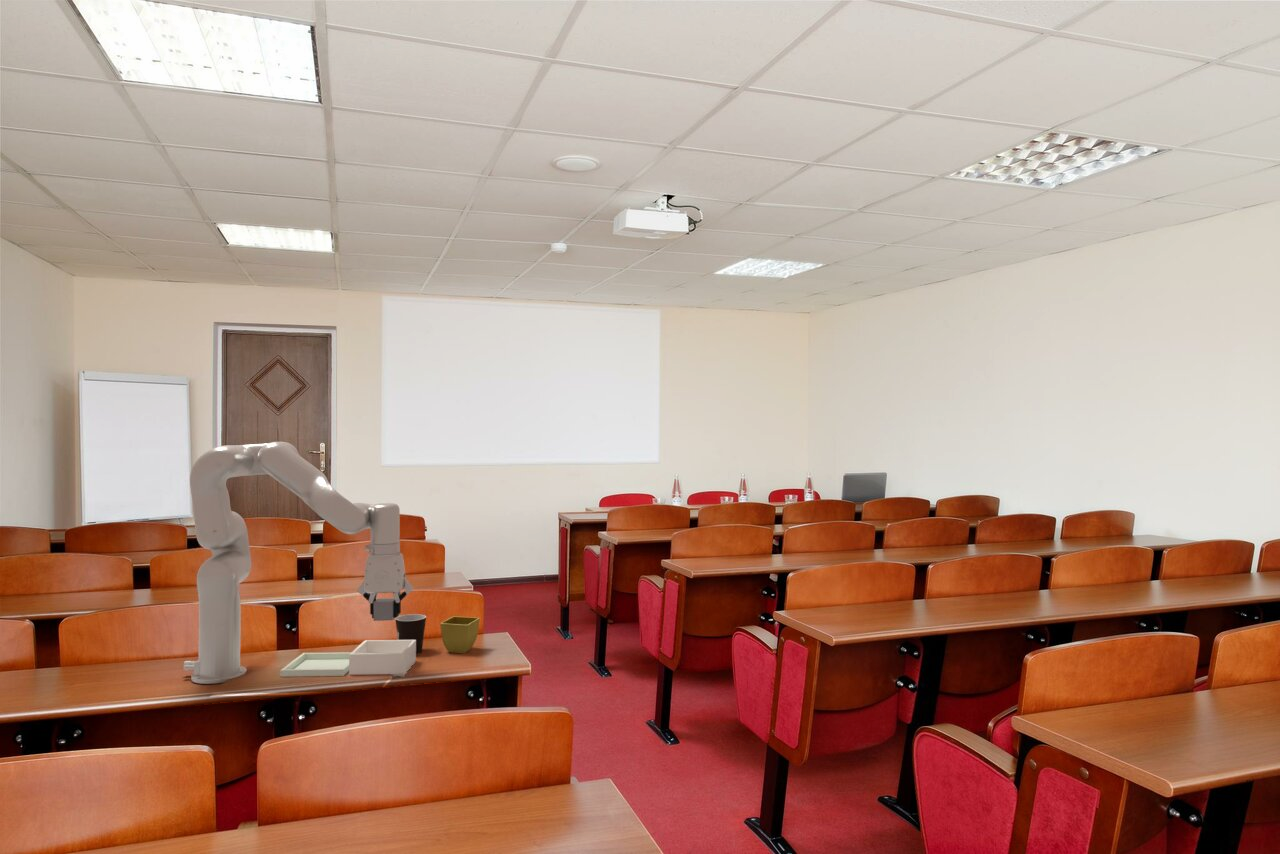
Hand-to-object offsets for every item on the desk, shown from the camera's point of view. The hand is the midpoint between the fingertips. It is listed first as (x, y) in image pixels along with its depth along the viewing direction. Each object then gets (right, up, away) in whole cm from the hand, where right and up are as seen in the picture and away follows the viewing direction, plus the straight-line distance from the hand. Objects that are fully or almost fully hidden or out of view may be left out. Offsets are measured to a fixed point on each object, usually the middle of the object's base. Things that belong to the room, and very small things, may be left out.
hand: (385, 616), depth 208 cm
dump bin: (0, -14, 0) cm, 14 cm away
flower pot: (+16, -15, +18) cm, 28 cm away
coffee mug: (+2, -15, +18) cm, 23 cm away
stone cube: (0, -1, 0) cm, 1 cm away
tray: (-16, -14, -1) cm, 22 cm away
